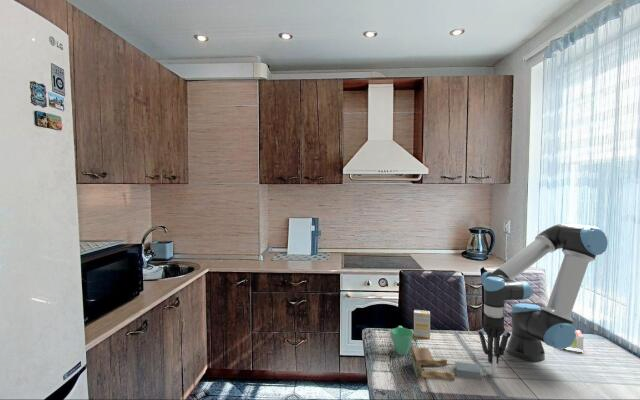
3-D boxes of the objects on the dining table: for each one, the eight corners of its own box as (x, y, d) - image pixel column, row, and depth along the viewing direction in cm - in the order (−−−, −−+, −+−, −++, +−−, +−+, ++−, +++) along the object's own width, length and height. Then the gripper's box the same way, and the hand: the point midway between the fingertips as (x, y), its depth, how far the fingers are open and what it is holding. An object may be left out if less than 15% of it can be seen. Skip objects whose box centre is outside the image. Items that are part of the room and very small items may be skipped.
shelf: (446, 363, 146) (446, 347, 146) (455, 380, 133) (455, 363, 133) (411, 362, 148) (412, 346, 147) (417, 378, 135) (417, 361, 134)
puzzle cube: (562, 349, 159) (562, 333, 159) (560, 343, 166) (560, 327, 166) (583, 353, 155) (583, 336, 155) (580, 346, 162) (580, 330, 162)
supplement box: (430, 335, 175) (430, 310, 175) (430, 339, 171) (430, 314, 170) (414, 333, 178) (414, 309, 178) (413, 336, 173) (413, 312, 173)
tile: (477, 371, 141) (477, 364, 141) (480, 380, 134) (480, 372, 134) (454, 368, 143) (454, 361, 143) (457, 376, 137) (457, 369, 136)
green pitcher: (414, 358, 151) (414, 336, 151) (392, 357, 152) (392, 335, 152) (409, 343, 166) (409, 324, 165) (389, 342, 167) (389, 323, 166)
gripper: (506, 312, 140) (505, 366, 141) (474, 310, 141) (473, 365, 142) (514, 318, 133) (513, 376, 133) (480, 317, 134) (480, 374, 135)
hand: (493, 370), depth 138 cm, fingers closed
